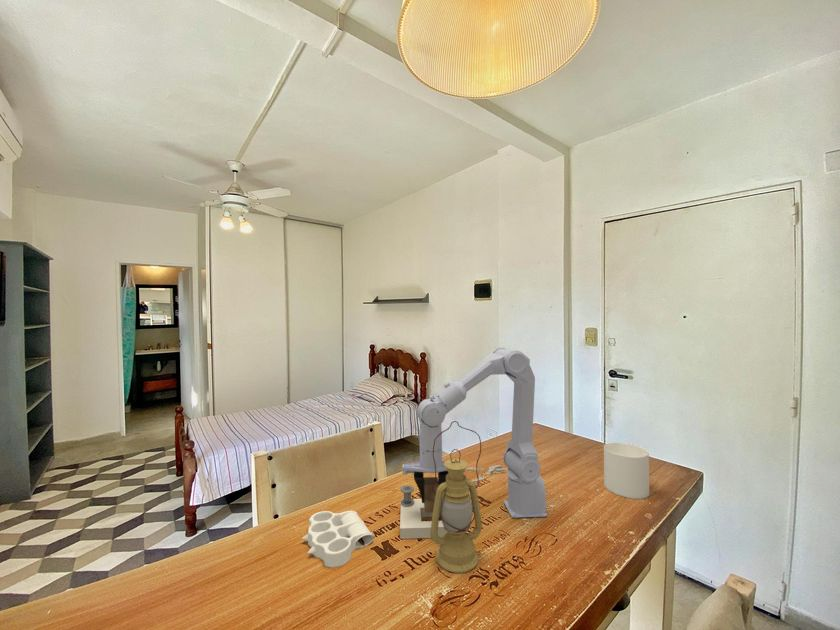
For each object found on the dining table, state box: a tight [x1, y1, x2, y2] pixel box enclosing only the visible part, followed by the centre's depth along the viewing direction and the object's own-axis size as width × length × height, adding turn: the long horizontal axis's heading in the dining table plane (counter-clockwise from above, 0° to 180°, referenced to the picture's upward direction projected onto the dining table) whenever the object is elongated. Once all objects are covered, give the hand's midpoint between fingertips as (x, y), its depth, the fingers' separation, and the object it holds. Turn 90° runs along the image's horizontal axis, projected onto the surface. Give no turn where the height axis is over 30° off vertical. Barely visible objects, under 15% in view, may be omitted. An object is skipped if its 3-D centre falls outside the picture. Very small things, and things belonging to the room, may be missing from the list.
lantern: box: [430, 420, 483, 574], centre depth 76 cm, size 12×10×30 cm
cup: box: [603, 442, 650, 500], centre depth 104 cm, size 12×12×12 cm
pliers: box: [465, 464, 506, 483], centre depth 116 cm, size 10×2×15 cm
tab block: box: [424, 476, 439, 513], centre depth 88 cm, size 4×4×7 cm
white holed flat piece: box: [300, 510, 375, 568], centre depth 82 cm, size 3×18×15 cm
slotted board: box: [399, 484, 447, 540], centre depth 89 cm, size 12×13×6 cm
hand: (431, 500), depth 88 cm, fingers closed on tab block, 4 cm apart
